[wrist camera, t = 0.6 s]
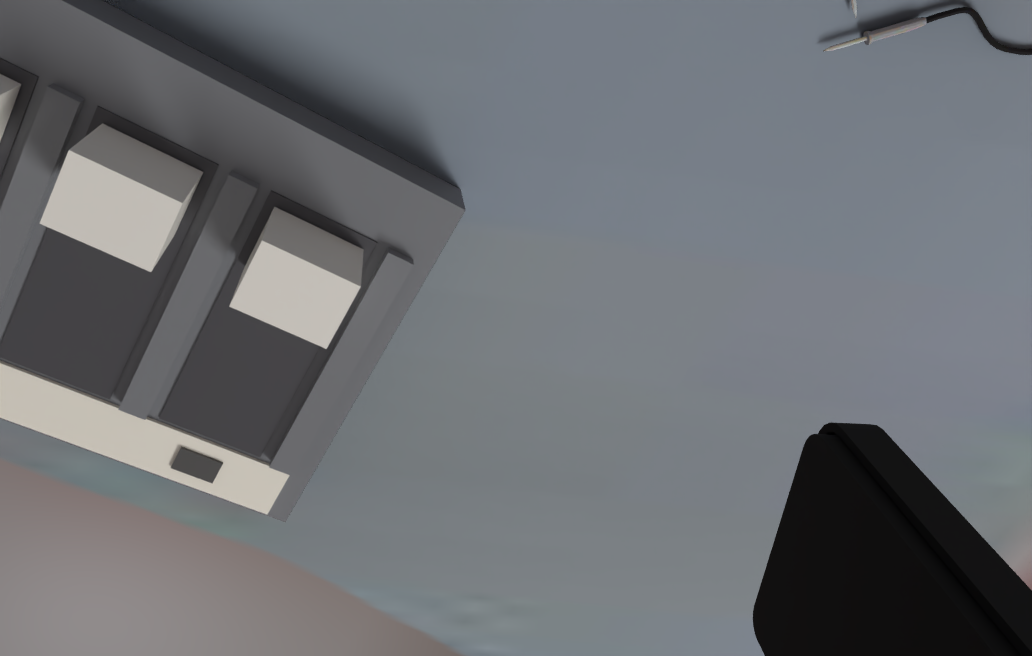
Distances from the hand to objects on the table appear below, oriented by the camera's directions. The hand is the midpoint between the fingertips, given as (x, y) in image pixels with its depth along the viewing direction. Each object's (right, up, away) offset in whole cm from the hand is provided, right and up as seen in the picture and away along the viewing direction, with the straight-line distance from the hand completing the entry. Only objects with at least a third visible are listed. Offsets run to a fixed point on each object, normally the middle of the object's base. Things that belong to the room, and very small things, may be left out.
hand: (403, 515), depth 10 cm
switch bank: (-16, +6, +29) cm, 34 cm away
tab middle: (-14, +8, +25) cm, 30 cm away
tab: (-8, +5, +27) cm, 29 cm away
